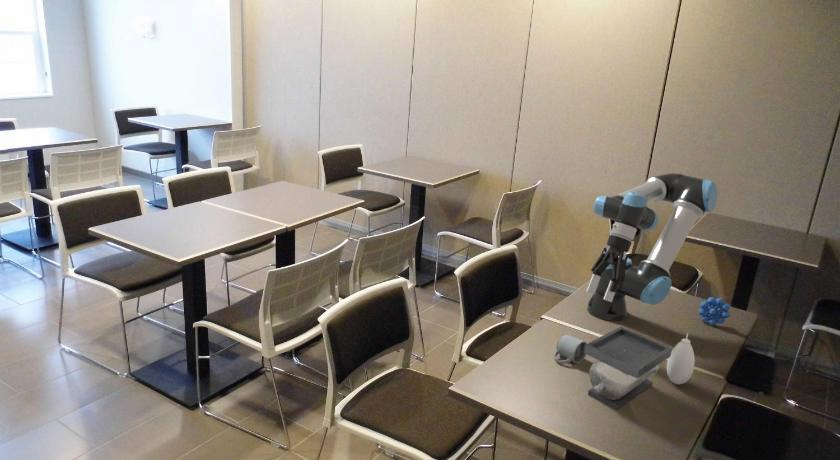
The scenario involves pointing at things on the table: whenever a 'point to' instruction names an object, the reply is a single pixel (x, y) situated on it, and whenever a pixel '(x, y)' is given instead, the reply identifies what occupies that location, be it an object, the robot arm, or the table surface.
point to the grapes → (714, 311)
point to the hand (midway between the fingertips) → (598, 296)
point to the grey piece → (623, 366)
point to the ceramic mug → (570, 349)
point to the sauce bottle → (681, 362)
